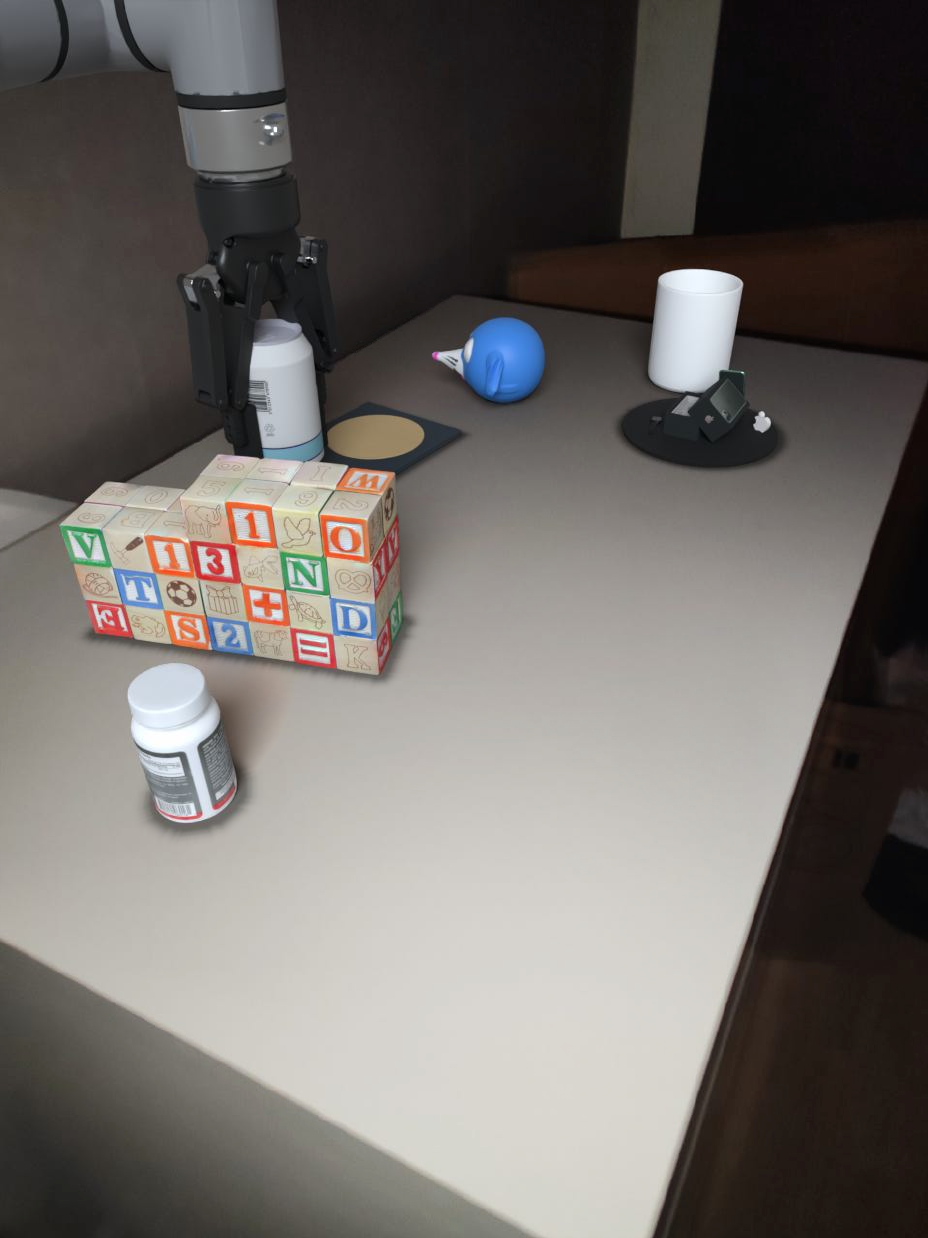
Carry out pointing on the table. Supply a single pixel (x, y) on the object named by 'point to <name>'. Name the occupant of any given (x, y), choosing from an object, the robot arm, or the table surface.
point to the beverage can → (285, 392)
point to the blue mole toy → (499, 360)
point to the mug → (693, 328)
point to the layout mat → (383, 439)
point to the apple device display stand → (703, 426)
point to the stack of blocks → (248, 561)
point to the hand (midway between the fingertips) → (284, 457)
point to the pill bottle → (181, 742)
